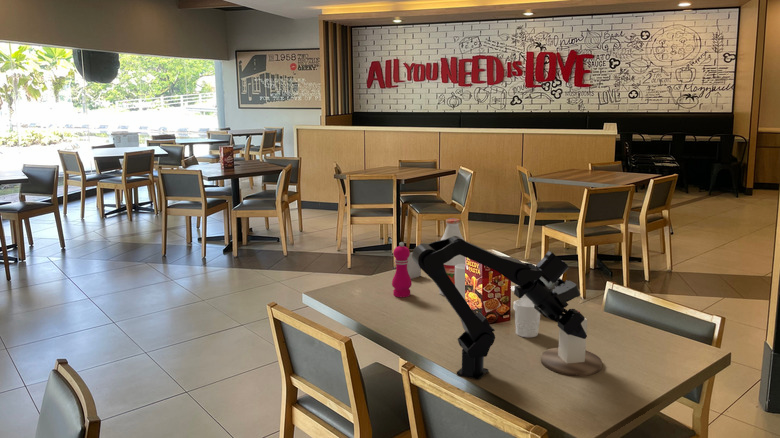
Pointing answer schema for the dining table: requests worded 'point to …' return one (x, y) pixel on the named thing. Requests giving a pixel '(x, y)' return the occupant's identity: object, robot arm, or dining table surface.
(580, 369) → the walnut serving board
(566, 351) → the square squeeze bottle
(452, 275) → the fruit juice
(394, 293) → the pepper mill
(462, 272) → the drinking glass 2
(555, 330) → the dining table surface
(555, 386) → the dining table surface
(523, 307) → the white cup
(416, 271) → the tea bag
